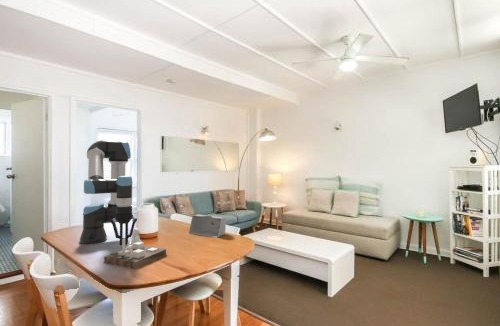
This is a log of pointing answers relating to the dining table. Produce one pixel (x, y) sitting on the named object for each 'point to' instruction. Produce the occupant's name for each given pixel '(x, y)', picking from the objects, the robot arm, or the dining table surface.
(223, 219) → the grey rectangular block
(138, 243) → the button
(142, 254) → the button
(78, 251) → the dining table surface
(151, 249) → the button
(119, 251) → the button
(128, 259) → the board
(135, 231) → the seated beast figurine
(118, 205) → the robot arm
